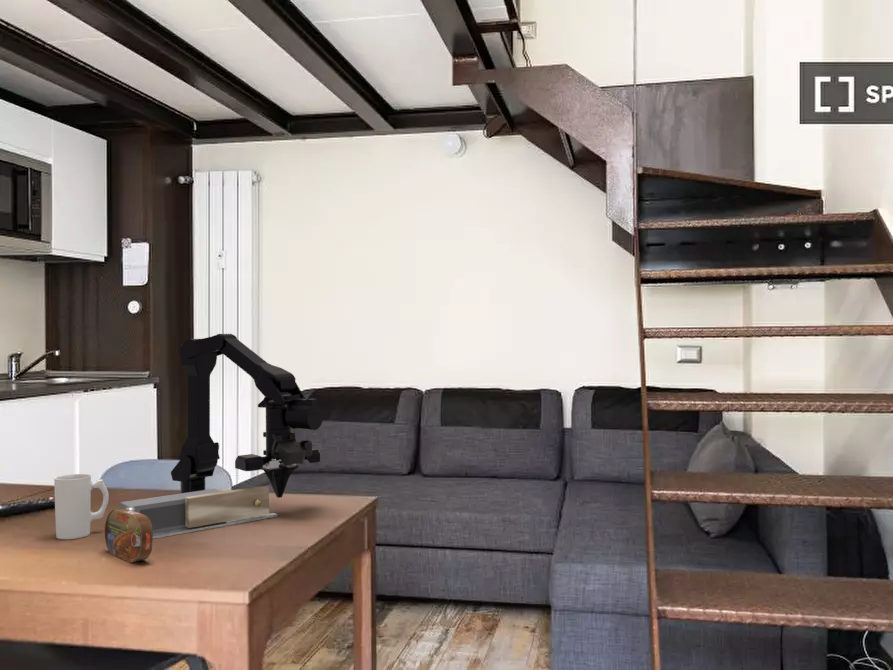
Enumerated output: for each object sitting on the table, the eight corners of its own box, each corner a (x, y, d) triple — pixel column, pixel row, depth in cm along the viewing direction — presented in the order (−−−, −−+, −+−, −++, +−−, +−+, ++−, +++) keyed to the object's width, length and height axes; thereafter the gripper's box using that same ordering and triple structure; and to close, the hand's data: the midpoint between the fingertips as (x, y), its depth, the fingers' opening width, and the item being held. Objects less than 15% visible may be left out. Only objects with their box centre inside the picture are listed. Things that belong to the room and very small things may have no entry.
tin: (103, 551, 143) (102, 506, 143) (119, 548, 145) (119, 504, 145) (139, 567, 132) (138, 519, 132) (156, 563, 134) (156, 516, 134)
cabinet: (120, 534, 155) (120, 502, 155) (214, 517, 168) (214, 488, 168) (130, 539, 150) (130, 507, 150) (226, 523, 163) (225, 492, 163)
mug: (55, 541, 149) (54, 481, 149) (54, 534, 155) (53, 475, 155) (110, 534, 154) (109, 476, 154) (107, 527, 160) (107, 471, 160)
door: (185, 526, 157) (185, 497, 157) (264, 512, 169) (264, 485, 169) (191, 528, 155) (190, 499, 155) (271, 514, 166) (270, 487, 166)
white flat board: (125, 541, 149) (124, 507, 149) (273, 514, 170) (272, 485, 170) (128, 543, 148) (128, 509, 148) (277, 516, 168) (277, 486, 168)
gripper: (257, 435, 158) (257, 509, 158) (333, 427, 170) (334, 496, 170) (233, 430, 166) (234, 501, 166) (308, 423, 178) (308, 489, 178)
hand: (279, 497), depth 170 cm, fingers closed
